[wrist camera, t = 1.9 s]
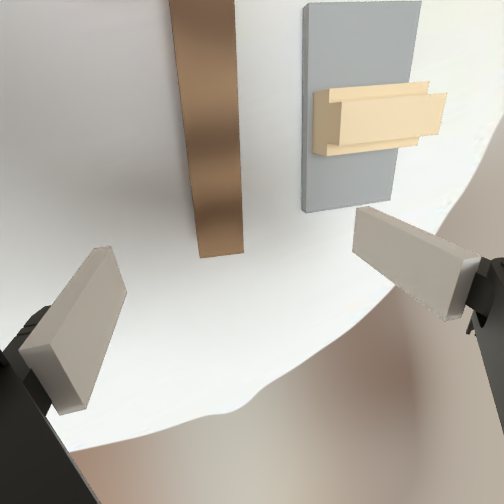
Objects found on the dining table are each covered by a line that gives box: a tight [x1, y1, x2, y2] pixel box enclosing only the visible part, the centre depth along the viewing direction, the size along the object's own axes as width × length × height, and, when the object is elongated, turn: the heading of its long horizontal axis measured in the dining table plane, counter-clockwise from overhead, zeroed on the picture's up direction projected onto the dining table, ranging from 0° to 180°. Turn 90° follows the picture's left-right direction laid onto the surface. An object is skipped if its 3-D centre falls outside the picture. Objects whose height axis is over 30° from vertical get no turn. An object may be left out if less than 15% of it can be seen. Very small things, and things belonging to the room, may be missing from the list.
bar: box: [169, 0, 244, 258], centre depth 22 cm, size 20×4×5 cm, turn 1°
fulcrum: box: [302, 1, 447, 213], centre depth 24 cm, size 17×10×6 cm, turn 5°
